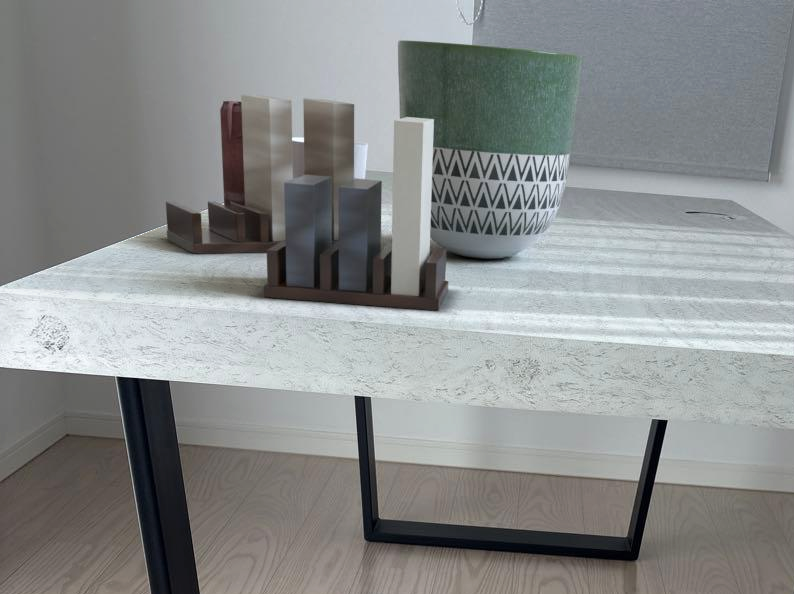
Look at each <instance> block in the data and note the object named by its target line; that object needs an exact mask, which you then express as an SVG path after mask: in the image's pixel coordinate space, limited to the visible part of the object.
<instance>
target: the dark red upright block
mask: <svg viewBox="0 0 794 594" xmlns="http://www.w3.org/2000/svg"><path fill="white" fill-rule="evenodd" d="M219 114H220V115H219V116H220V135H221V136H220V138H221V139H220V140H221V162H222V163H221V164H222V186H223V205H225V206H228V207H230V202H240V203H242V204H245V189H244V160H243V132H242V104H241V101H233V100H223V101H222V105H221V107H220V109H219Z"/></svg>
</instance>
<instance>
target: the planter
mask: <svg viewBox="0 0 794 594" xmlns="http://www.w3.org/2000/svg"><path fill="white" fill-rule="evenodd" d="M583 58H584V57H583V56H582V55H578V54H571V53H570V54H569V53H562V52H556V51H555V52H554V51H544V50H534V49H523V48H513V47H502V46H492V45H491V46H490V45H489V46H488V45H479V44H477V45H476V44H465V43H453V42H439V41H425V40H404V39H403V40H402V39H401V40H398V41H397V67H398V68H397V76H398V97H399V98H398V100H399V101H398V102H399V119H401V118H405V117H414V118H426V119H434V132H433V162H432V193H431V224H430V240H432V242H434V243H435V244H437V246H438V247H442V248H446V252H450V253H451V254H454V255H457V256H461V257H467V258H474V259H484V260H485V259H488V260H490V259H491V260H493V259H505V258H509V257H512V256H515V255H518V254H520V253H522V252H523V251H525V250H527V249H528V248H529V247H531V246H533V244H535V243H536V242H537V241H538V240H539V239H540V238H541V237H542V236H543V235H544V234H545V233H546V232H547V230H549V228H550V226H551V225H552V224H553V222H554V220H555V218H556V215H557V214H558V211H559V208H560V206H561V203H562V200H563V196H564V193H565V189H566V184H567V179H568V173H569V165H570V159H571V158H570V157H571V150H572V143H573V138H574V137H573V136H574V130H575V129H574V128H575V122H576V121H575V120H576V114H577V106H578V99H579V93H580V87H581V76H582V69H583V67H582V66H583Z"/></svg>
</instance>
